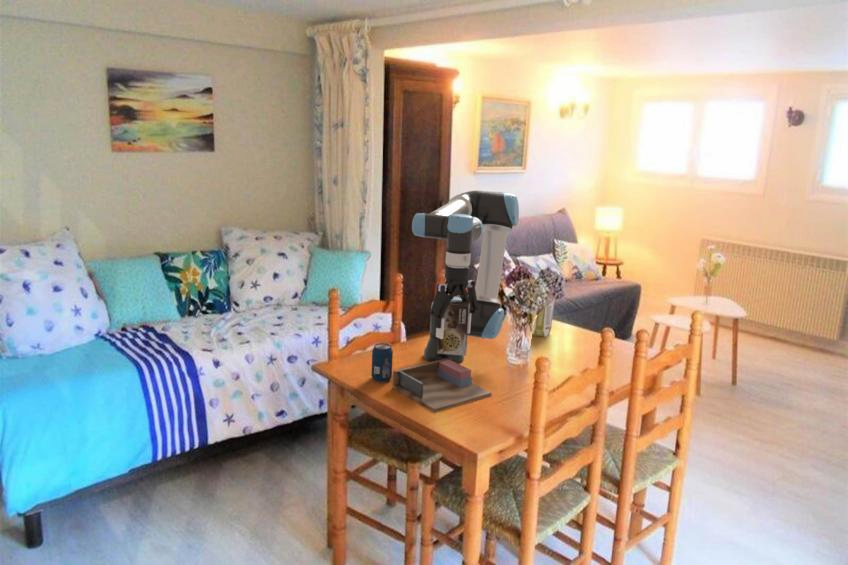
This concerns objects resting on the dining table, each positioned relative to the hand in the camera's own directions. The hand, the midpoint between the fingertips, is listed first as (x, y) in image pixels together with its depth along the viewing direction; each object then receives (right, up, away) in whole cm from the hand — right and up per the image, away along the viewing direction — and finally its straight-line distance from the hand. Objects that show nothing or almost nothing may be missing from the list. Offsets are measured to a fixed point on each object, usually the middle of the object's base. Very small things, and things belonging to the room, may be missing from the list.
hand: (453, 334), depth 198 cm
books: (+1, -17, +19) cm, 25 cm away
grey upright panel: (-14, -19, +7) cm, 24 cm away
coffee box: (0, -6, +1) cm, 6 cm away
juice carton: (+42, -6, +77) cm, 88 cm away
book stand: (-3, -20, +11) cm, 23 cm away
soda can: (-24, -17, +19) cm, 34 cm away
